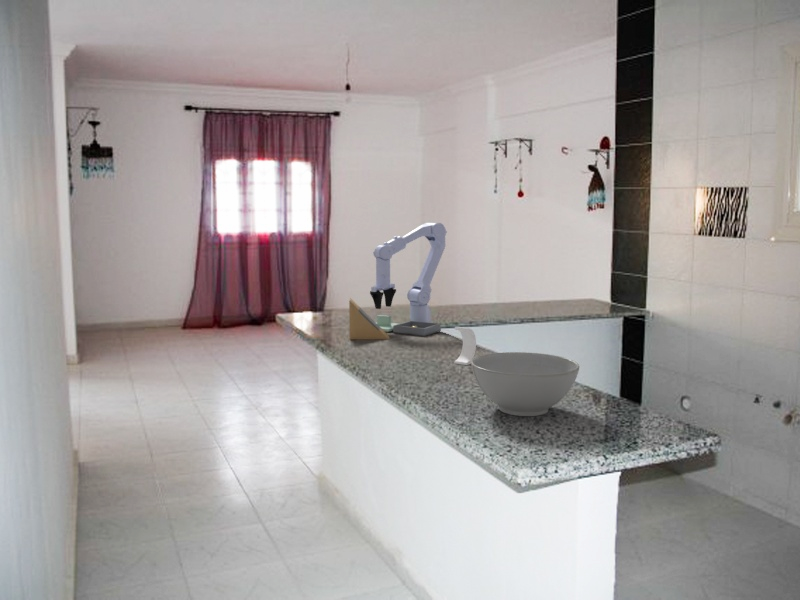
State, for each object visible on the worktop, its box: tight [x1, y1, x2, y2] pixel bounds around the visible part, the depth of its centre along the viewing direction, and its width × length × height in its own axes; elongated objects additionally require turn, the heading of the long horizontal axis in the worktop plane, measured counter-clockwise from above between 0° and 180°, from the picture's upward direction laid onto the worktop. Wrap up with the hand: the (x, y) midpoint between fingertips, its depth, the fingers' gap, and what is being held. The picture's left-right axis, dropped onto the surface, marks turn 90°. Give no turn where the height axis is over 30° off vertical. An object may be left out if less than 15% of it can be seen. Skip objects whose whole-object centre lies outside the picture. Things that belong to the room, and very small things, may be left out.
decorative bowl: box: [470, 351, 580, 417], centre depth 188 cm, size 27×27×12 cm
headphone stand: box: [453, 326, 477, 366], centre depth 243 cm, size 5×6×12 cm
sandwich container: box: [348, 298, 390, 340], centre depth 289 cm, size 9×15×15 cm, turn 92°
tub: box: [392, 320, 442, 337], centre depth 301 cm, size 14×14×3 cm
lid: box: [374, 314, 399, 333], centre depth 308 cm, size 14×14×5 cm
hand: (383, 307), depth 308 cm, fingers open, 7 cm apart
